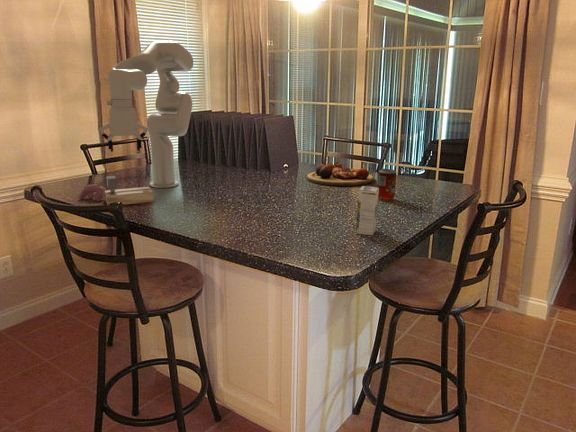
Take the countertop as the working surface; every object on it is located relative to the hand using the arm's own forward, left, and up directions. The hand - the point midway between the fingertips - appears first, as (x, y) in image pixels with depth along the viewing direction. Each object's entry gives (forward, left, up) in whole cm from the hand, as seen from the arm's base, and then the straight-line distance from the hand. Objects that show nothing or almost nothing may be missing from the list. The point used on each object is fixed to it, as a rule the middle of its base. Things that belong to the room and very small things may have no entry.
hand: (125, 150), depth 182 cm
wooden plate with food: (-5, +98, -21) cm, 100 cm away
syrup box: (+68, +64, -20) cm, 96 cm away
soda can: (+36, +95, -20) cm, 104 cm away
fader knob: (-2, -6, -16) cm, 17 cm away
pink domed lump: (-10, -13, -20) cm, 26 cm away
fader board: (-2, 0, -20) cm, 20 cm away
